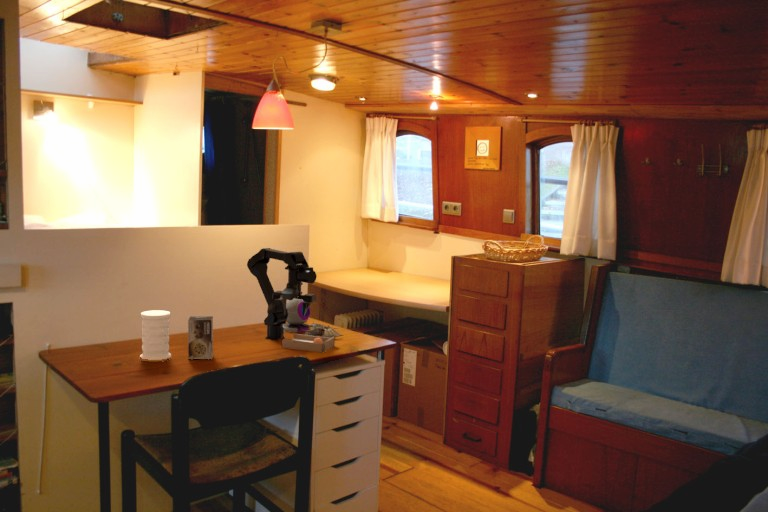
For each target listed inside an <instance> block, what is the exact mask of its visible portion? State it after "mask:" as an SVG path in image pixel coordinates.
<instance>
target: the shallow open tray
mask: <svg viewBox="0 0 768 512" xmlns="http://www.w3.org/2000/svg"><path fill="white" fill-rule="evenodd" d="M315 338H321V339H322V341H323V343H322V344H321V343H313V342H314V339H315ZM335 339H336V337H332V338H328V337H321V336H311V335H306V334H304V333H303V334H300V333H293V338H292V339H287V338H282V346H281V347H282V348H283V349H284V348H285V349H290V350H291V349H292V350H298V351H300V350H301V351H306V350H309V351H308V352H314V351H318V352H317V353H322V352H324V353H325V351H326V352H327V351H328V350H331V349H332V348H334V347H335V343H336V342H335V341H336V340H335ZM330 348H331V349H330Z"/></svg>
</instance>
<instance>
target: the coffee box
mask: <svg viewBox="0 0 768 512" xmlns="http://www.w3.org/2000/svg"><path fill="white" fill-rule="evenodd" d="M213 320H214V316H205V315H204V316H189V318H188V320H187V324H188V325H187V330H188V332H187V337H188V340H187V341H188V343H187V345H188V347H187V348H188V349H187V351H188V352H187V354H188V355H187V356H188V358H187V360H188V359H208V360H209V359H211V360H212V359H213V356H214V321H213Z"/></svg>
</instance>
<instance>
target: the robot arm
mask: <svg viewBox="0 0 768 512" xmlns="http://www.w3.org/2000/svg"><path fill="white" fill-rule="evenodd" d="M271 259H272V260H276V261H277V260H278V261H282V262H283V263H284V264H285V265H287V266H285V267H284V269H285V270H286V271H287V270H288V273H287V274H288V275H287V277H288V278H287V280H288V281H287V283H286V285H285V286H286V287H285V288H284V289H283V290H276V291H275V290H274V287H273V285H272V282H271V281H270V278H269V276H268V264H269V262H270V261H271ZM246 265H247V267H246V268H247V269H248V270H249V272H250V274H252V276H254V277H255V278H256V280H257V283H258V285H259V286H260V291H261V292H262V295H263V296H264V299H265V301H266V304H267V309H266V310H267V316H266V317H265V318H264V319H263V324H264V326H266V330H267V331H266V336H265V338H264V339H267V340H277V341H278V340H280V339H284V338H285V335H284V333H285V331H284V328H283V325H284V324H287V323H286V322H287V321H286V320H287V317H288V312H287V311H288V310H287V308H286V303H287V301H289V300H293V299H302V300H303V301H304V302H302V304H303V317H304V316H305V314H306V312H307V310H308V308H309V307H310V306H311V304H312V303H314V302H316V301H317V295H316V294H315V293H306V294H303V291H302V285H303V283H306V284H311V285H312V284H314V283H315V282H316V280H317V276H318V275H317V273H316V271H315V270H314V267H311V266H309V264H308V262H307V259H306V257H305V256H304V252H302V251H289V252H288V251H283V250H279V249H275V248H274V249H273V248H270V247H265V248H261V249H259V251H258V252H257V253H255V254H253V255H252V256H251V257H250V258H249V259H248V260H247V264H246Z"/></svg>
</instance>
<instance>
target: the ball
mask: <svg viewBox="0 0 768 512" xmlns="http://www.w3.org/2000/svg"><path fill="white" fill-rule="evenodd" d="M313 343H321V344H322V343H323V341H322V339H321V338H315V339H314V342H313Z"/></svg>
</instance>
